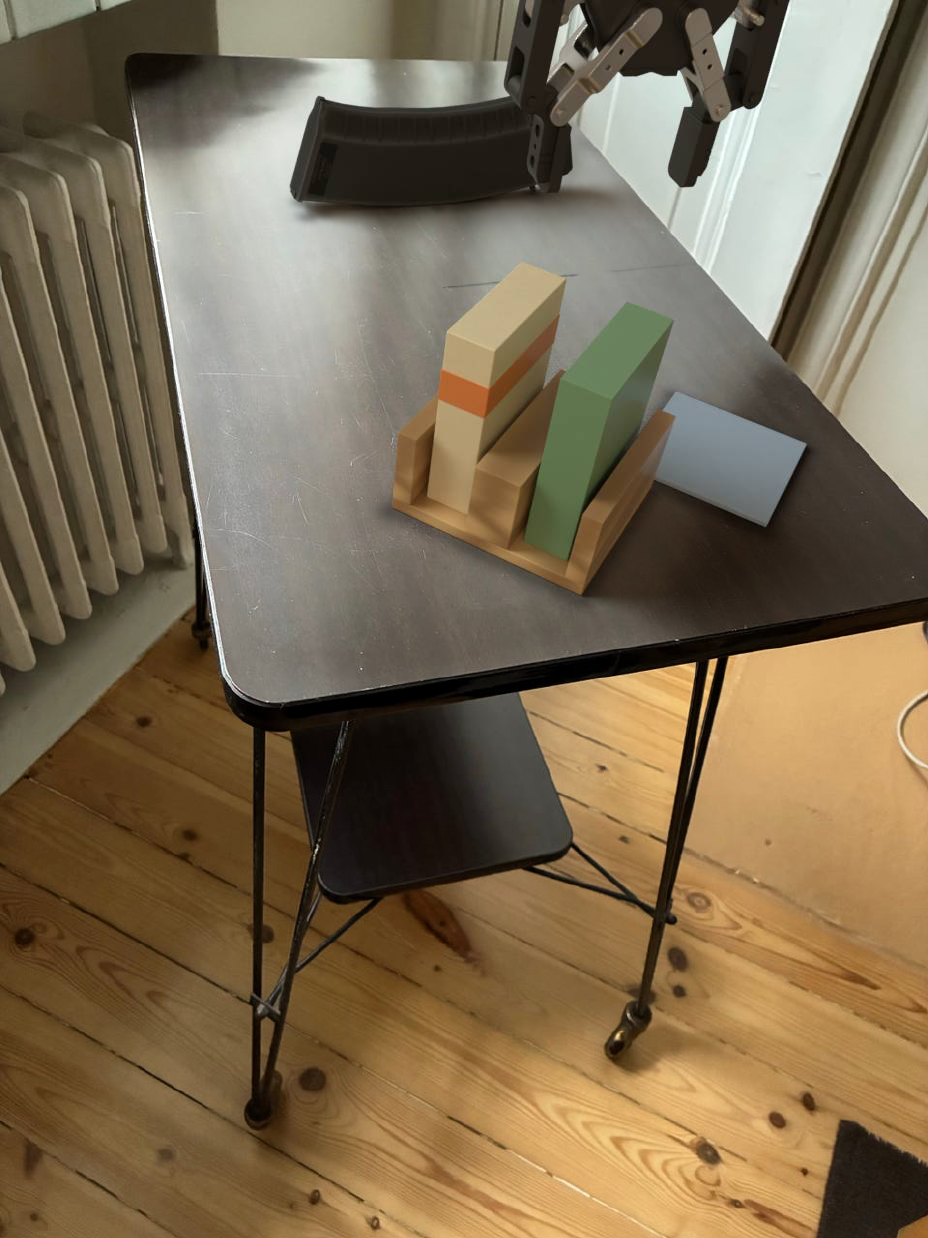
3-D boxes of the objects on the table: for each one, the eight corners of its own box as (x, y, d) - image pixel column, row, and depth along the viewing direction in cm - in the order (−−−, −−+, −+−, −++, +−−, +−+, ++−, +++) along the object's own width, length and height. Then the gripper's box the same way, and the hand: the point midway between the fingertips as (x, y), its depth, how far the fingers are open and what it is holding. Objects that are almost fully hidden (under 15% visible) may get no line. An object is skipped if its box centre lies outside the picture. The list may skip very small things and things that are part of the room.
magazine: (270, 123, 92) (564, 18, 94) (262, 108, 93) (550, 5, 96) (320, 279, 105) (576, 184, 108) (312, 263, 107) (563, 170, 110)
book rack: (651, 487, 78) (676, 415, 72) (580, 595, 69) (603, 523, 64) (479, 413, 81) (490, 339, 76) (391, 507, 73) (397, 432, 67)
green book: (624, 478, 76) (674, 319, 66) (566, 561, 70) (612, 399, 59) (583, 460, 77) (626, 301, 67) (522, 541, 70) (560, 377, 60)
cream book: (533, 438, 78) (568, 277, 68) (468, 516, 71) (495, 351, 61) (493, 421, 79) (521, 260, 69) (425, 497, 72) (445, 330, 62)
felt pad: (805, 447, 84) (807, 443, 83) (765, 527, 76) (767, 523, 76) (674, 394, 86) (676, 390, 86) (624, 467, 79) (625, 463, 79)
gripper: (588, -165, 39) (522, 224, 51) (878, -144, 43) (754, 210, 56) (520, -210, 44) (474, 158, 56) (789, -187, 48) (692, 150, 60)
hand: (614, 184), depth 56 cm, fingers open, 8 cm apart
